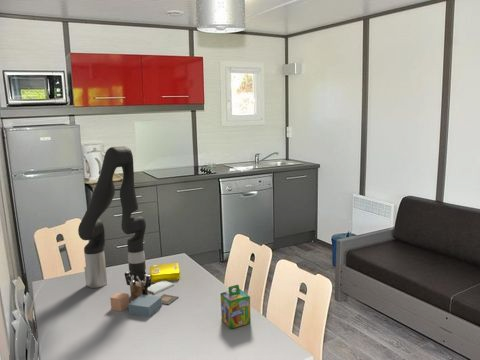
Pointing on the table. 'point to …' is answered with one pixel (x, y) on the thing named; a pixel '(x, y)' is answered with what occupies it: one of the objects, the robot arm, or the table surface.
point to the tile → (168, 299)
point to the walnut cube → (136, 290)
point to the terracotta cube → (119, 301)
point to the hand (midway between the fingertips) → (139, 294)
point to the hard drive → (159, 287)
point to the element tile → (165, 272)
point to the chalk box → (235, 307)
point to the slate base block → (145, 305)
